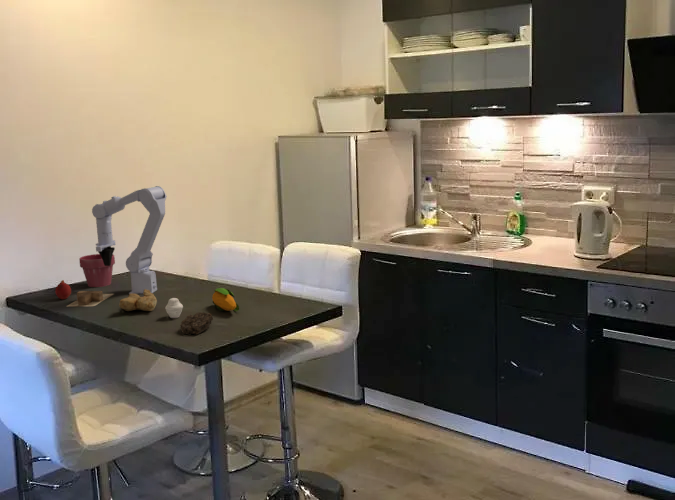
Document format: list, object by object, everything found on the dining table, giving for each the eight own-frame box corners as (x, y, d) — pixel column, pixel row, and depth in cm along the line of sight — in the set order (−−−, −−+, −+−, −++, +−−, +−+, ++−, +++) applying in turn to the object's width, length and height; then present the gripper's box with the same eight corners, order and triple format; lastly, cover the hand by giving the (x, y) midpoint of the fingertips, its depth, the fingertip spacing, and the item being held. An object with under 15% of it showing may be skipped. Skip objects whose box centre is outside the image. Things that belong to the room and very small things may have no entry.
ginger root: (147, 313, 259) (141, 291, 259) (111, 321, 265) (106, 300, 265) (171, 304, 274) (166, 283, 273) (137, 311, 280) (132, 291, 279)
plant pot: (91, 281, 319) (89, 253, 317) (122, 281, 317) (119, 252, 315) (76, 289, 305) (72, 259, 303) (107, 289, 303) (105, 259, 301)
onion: (66, 302, 285) (64, 282, 283) (53, 302, 286) (51, 282, 285) (74, 298, 291) (72, 278, 289) (61, 298, 292) (59, 278, 290)
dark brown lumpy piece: (195, 324, 250) (194, 309, 249) (218, 327, 245) (217, 312, 244) (172, 333, 240) (171, 318, 239) (195, 337, 235) (194, 321, 234)
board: (114, 295, 294) (114, 293, 294) (94, 307, 275) (93, 306, 275) (88, 295, 295) (88, 293, 295) (66, 307, 276) (66, 306, 276)
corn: (226, 282, 275) (243, 293, 257) (228, 302, 277) (246, 314, 259) (207, 286, 272) (223, 298, 254) (209, 306, 274) (226, 319, 256)
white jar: (174, 320, 255) (173, 300, 254) (162, 318, 258) (160, 298, 257) (187, 315, 260) (185, 296, 259) (174, 313, 263) (173, 294, 262)
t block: (103, 299, 285) (102, 290, 284) (93, 305, 276) (92, 296, 276) (81, 299, 286) (80, 291, 285) (70, 305, 277) (70, 296, 277)
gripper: (102, 230, 306) (105, 262, 308) (87, 236, 292) (90, 269, 294) (118, 229, 305) (121, 261, 307) (104, 235, 291) (107, 269, 293)
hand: (107, 265), depth 301 cm, fingers closed
